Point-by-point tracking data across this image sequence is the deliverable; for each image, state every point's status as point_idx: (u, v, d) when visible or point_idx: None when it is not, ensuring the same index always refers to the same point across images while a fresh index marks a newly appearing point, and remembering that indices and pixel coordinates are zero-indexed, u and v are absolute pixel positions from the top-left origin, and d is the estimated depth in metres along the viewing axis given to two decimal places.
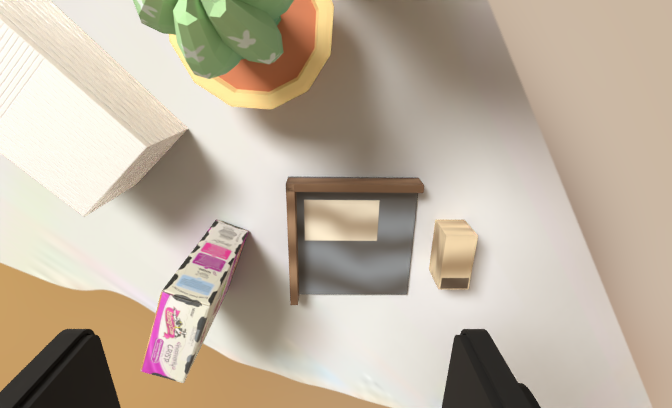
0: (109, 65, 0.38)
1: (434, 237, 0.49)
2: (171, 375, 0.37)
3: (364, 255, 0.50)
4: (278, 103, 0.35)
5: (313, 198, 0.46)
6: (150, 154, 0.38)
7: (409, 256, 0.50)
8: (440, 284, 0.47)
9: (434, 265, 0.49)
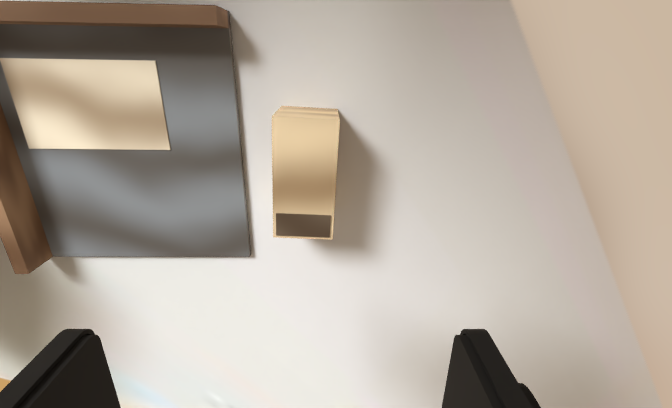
0: None
1: None
2: None
3: (154, 180, 0.26)
4: None
5: (18, 55, 0.23)
6: None
7: (240, 182, 0.27)
8: (275, 227, 0.23)
9: None
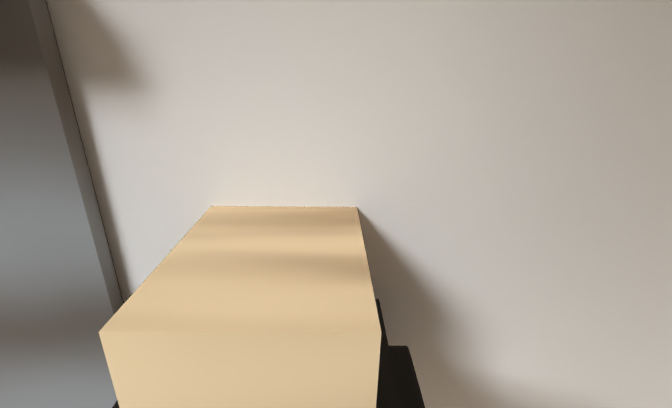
0: None
1: None
2: None
3: None
4: None
5: None
6: None
7: None
8: None
9: None
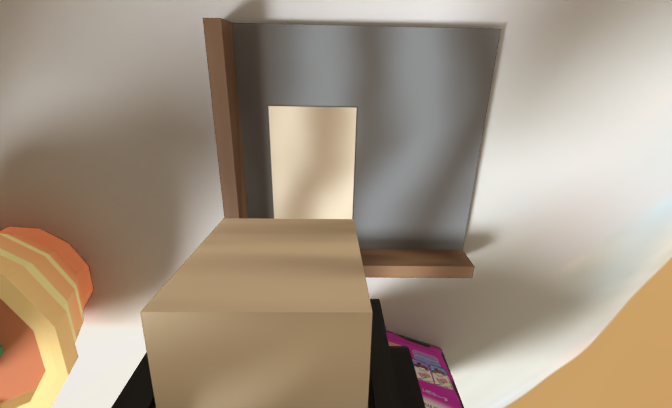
0: None
1: None
2: None
3: (388, 130, 0.25)
4: (41, 318, 0.21)
5: None
6: None
7: (399, 30, 0.22)
8: None
9: None
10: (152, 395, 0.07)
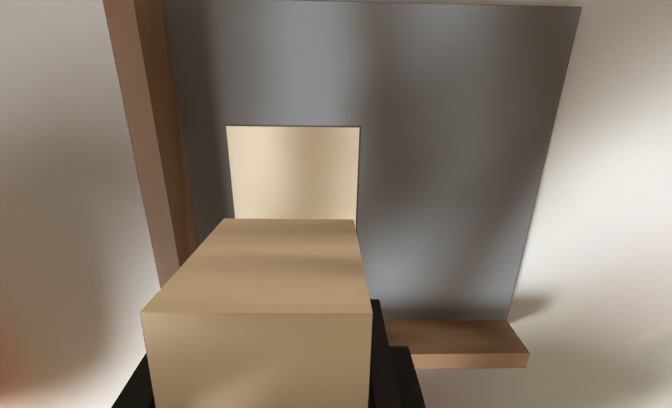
0: None
1: None
2: None
3: (407, 161, 0.17)
4: None
5: None
6: None
7: (425, 9, 0.14)
8: None
9: None
10: (152, 395, 0.07)
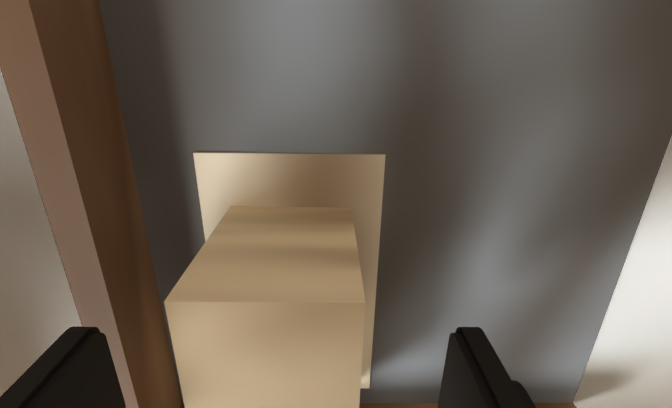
0: None
1: None
2: None
3: (451, 200, 0.12)
4: None
5: None
6: None
7: None
8: None
9: None
10: None
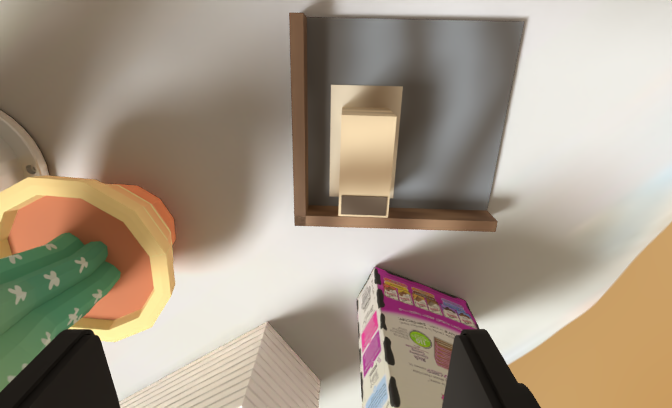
0: (195, 371, 0.40)
1: None
2: None
3: (428, 106, 0.30)
4: (157, 246, 0.27)
5: (327, 183, 0.33)
6: (268, 384, 0.34)
7: (440, 22, 0.28)
8: (340, 207, 0.28)
9: None
10: None
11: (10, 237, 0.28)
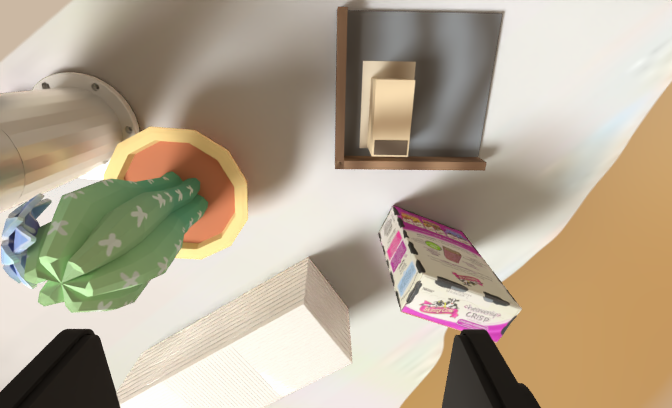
0: (250, 297, 0.50)
1: (370, 100, 0.40)
2: (508, 318, 0.34)
3: (434, 76, 0.41)
4: (240, 179, 0.37)
5: (358, 137, 0.43)
6: (316, 297, 0.45)
7: (443, 14, 0.38)
8: (373, 149, 0.38)
9: (370, 133, 0.41)
10: None
11: (126, 176, 0.38)
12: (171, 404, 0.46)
